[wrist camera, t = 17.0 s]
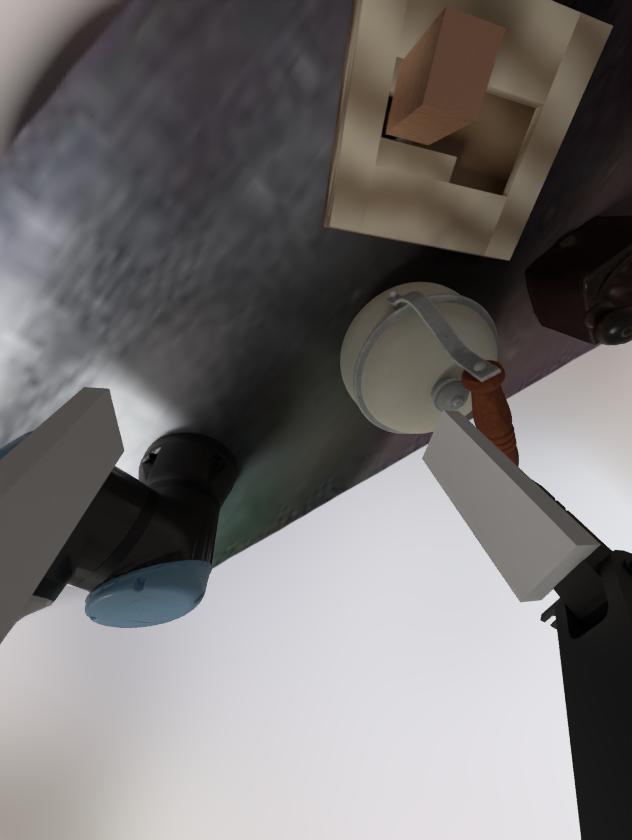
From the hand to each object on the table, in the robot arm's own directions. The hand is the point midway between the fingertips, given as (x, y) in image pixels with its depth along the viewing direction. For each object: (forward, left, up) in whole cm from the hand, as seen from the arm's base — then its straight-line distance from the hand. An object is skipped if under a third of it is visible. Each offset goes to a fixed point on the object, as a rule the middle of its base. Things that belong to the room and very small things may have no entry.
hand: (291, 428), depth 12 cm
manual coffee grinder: (+6, -39, -31) cm, 50 cm away
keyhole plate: (+17, -16, -31) cm, 39 cm away
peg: (+17, -10, -29) cm, 35 cm away
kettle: (-6, -19, -31) cm, 37 cm away
